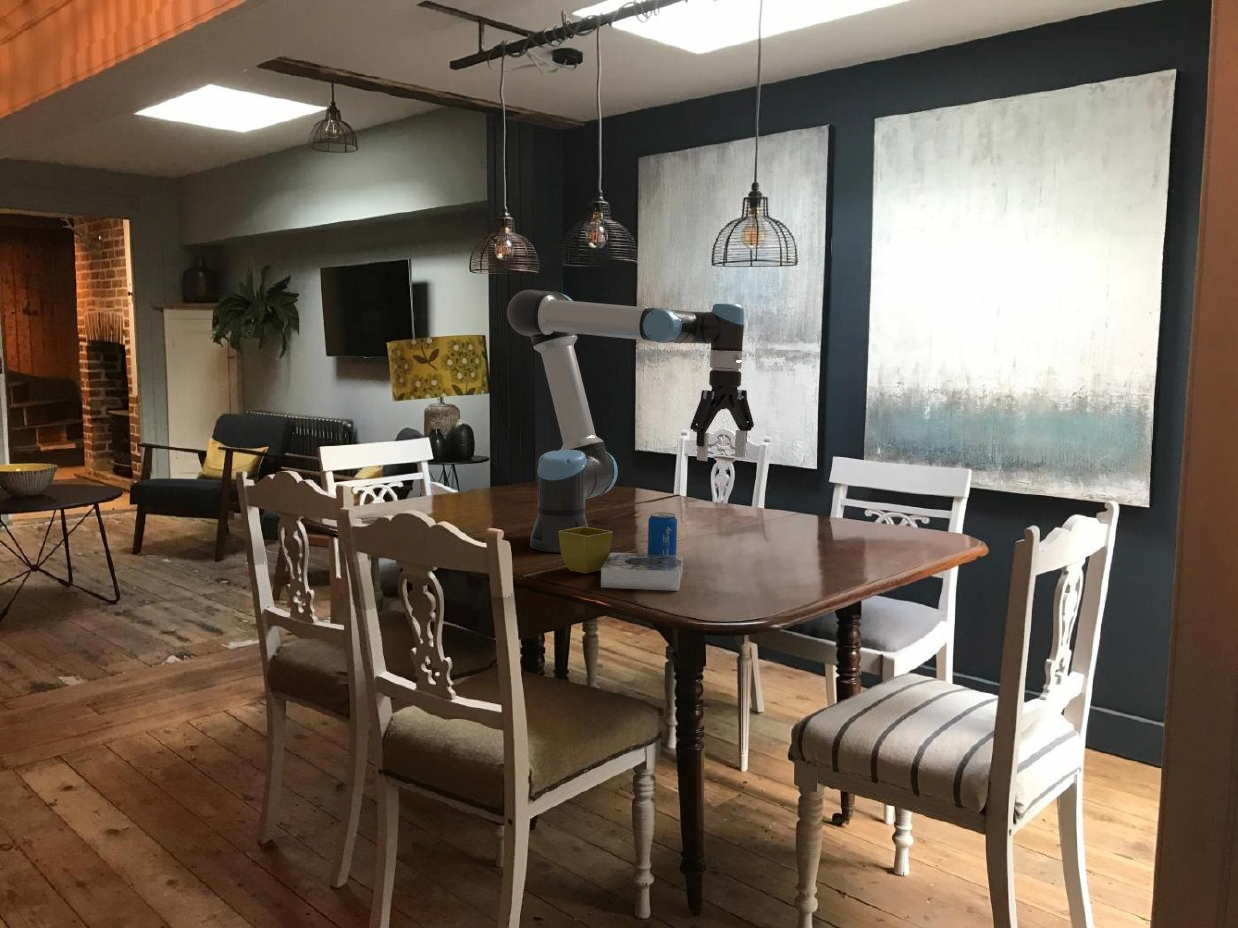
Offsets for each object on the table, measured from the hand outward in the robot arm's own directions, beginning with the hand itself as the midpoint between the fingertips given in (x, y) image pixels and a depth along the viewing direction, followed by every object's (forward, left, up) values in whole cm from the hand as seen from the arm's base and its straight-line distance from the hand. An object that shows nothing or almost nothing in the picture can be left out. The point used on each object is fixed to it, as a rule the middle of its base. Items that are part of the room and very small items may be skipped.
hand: (721, 458), depth 239 cm
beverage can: (-13, -17, -23) cm, 32 cm away
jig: (-16, -31, -23) cm, 42 cm away
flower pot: (-29, -25, -23) cm, 45 cm away
